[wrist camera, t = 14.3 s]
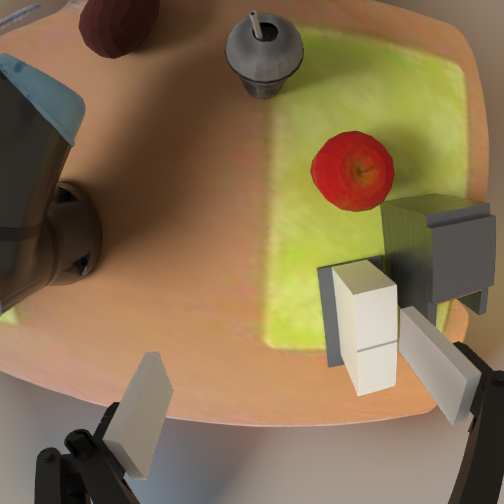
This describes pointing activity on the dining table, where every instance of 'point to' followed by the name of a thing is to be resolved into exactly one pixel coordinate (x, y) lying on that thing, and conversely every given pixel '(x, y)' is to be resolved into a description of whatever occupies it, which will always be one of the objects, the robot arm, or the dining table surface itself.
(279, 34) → the beverage cup
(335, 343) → the mat
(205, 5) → the dining table surface
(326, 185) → the apple
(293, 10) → the dining table surface
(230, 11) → the dining table surface
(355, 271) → the white rectangular block
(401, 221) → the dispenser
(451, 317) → the dining table surface
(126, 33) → the potato
